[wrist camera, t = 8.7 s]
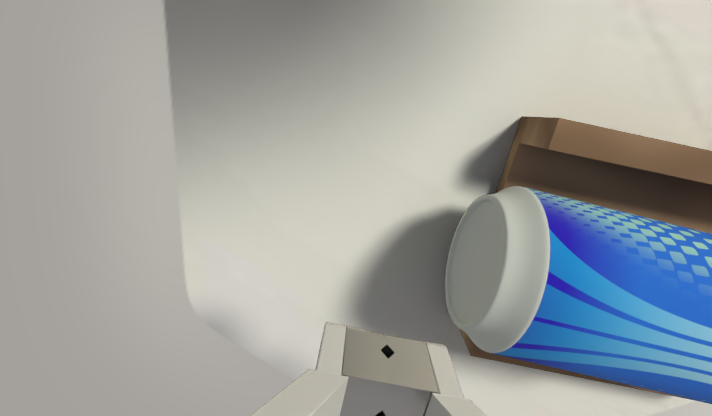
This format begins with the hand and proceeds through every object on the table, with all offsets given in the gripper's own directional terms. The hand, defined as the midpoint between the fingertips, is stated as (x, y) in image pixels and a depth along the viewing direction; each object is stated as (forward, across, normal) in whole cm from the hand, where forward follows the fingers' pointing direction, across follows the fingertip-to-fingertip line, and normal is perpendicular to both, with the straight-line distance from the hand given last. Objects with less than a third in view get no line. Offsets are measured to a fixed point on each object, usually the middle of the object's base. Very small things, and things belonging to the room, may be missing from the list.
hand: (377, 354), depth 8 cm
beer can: (+9, -5, 0) cm, 10 cm away
